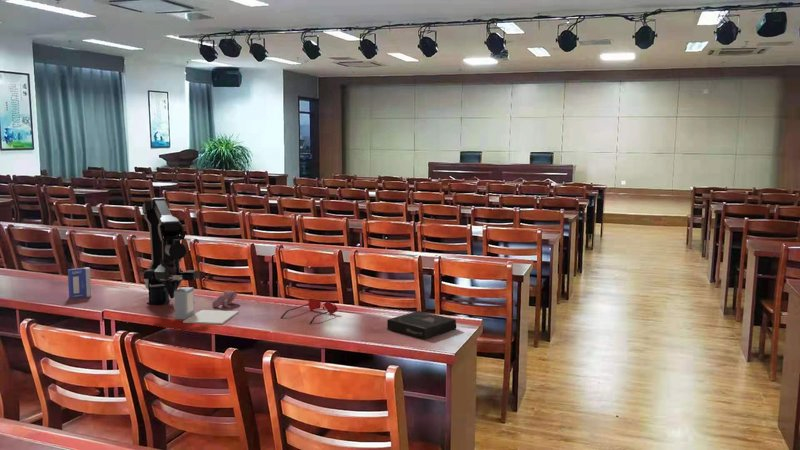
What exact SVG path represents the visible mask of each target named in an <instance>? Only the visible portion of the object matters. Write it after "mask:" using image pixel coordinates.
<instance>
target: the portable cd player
mask: <svg viewBox="0 0 800 450" xmlns="http://www.w3.org/2000/svg"><path fill="white" fill-rule="evenodd" d="M386 320H387V322H386V324H387V327H386V328H387V329H386V330H387V331H390V332H394V333H398V334H401V335H405V336H409V337H413V338H416V339H421V340H423V341H425V340H426V341H427V340H429V339H431V338H435V337H437V336H441V335H443V334H446V333H449V332H453V331H456V330H457V321H456V319H455V318H452V317H447V316H443V315H438V314H434V313H429V312H427V311H426V312H424V311H421V310H417V311H413V312H409V313H405V314H403V315H399V316H395V317H392V318H388V319H386Z"/></svg>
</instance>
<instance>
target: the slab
mask: <svg viewBox="0 0 800 450" xmlns="http://www.w3.org/2000/svg"><path fill="white" fill-rule="evenodd" d="M194 289H195V288H194V287H190V286H187V287H186V286H185V287H179V288H178V289H177V290H176V291H174V298H173V299H174V319H175V320H186V319H188V318H189V317H190V316H193V315H194V314H195V290H194Z"/></svg>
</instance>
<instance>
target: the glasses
mask: <svg viewBox="0 0 800 450" xmlns="http://www.w3.org/2000/svg"><path fill="white" fill-rule="evenodd" d="M322 302H324V303H323V306H322V309H323V311H325V310H327V311H325V312H322V313H320V314H317V315H315V316H314V317H312V319H311V321H310V322H309V325H311V324H312V323H313V322H314V320H315V318H316V317H319V316H321V315H324V314H325V315H326V314H327V313H329V314H330V315H332V314H335V313H336V312H338V310H339V307H337V305H336V304H335V302H332V301H328V300H321V299H315V298H309V300H308V303H307V304H303V305H301V306H298V307H294V308H291V309H288V310H286V311H285V312H283V314H282V315H281V316H280V318H279V319H283V318H284V316H286V314H287V313H288V312H290V311H293V310H297V309H299V308H300V309H301V308H302V307H307V306H308V308H309V310H310V311H313V310H318V309H320V308H321V303H322Z"/></svg>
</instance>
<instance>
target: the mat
mask: <svg viewBox="0 0 800 450" xmlns="http://www.w3.org/2000/svg"><path fill="white" fill-rule="evenodd" d="M238 313H239V311H238V310H235V311H234V310H212V309H211V310H210V309H200V311H199V310H198V312H196V313H194V315H192V316H191V317H189V318H187V319H183V321H182V323H183V324H201V325H202V324H203V325H204V324H205V325H223V324H224V323H226V322H227V321H229V320H230V319H232V318H234V316H236V315H237V314H238Z"/></svg>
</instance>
